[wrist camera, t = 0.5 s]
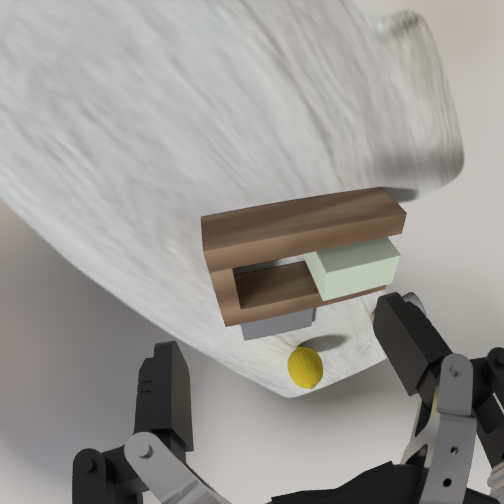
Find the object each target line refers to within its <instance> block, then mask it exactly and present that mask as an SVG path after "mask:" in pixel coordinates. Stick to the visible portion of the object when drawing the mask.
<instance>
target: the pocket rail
mask: <svg viewBox="0 0 504 504" xmlns="http://www.w3.org/2000/svg"><path fill="white" fill-rule="evenodd" d="M406 214H407V213H406V212H405V211H404V210H403V209H402V208H401V207H400V205H399V204H398V203H397V202H396V201H395V200H394V199H393V198H392V197H391V196H390V195H389V194H388V193H387V192H386V191H385V190H384V189H383V188H382V187H377V188H370V189H362V190H355V191H348V192H341V193H335V194H328V195H321V196H315V197H309V198H303V199H296V200H290V201H285V202H279V203H273V204H267V205H262V206H256V207H250V208H245V209H240V210H234V211H229V212H224V213H219V214H214V215H209V216H204V217H201V228H202V242H203V252H204V256H205V259H206V263H207V267H208V270H209V273H210V277H211V280H212V284H213V287H214V291H215V294H216V297H217V301H218V304H219V307H220V310H221V314H222V317H223V320H224V323H225V327H228V326H233V325H238V324H243V323H248V322H253V321H258V320H263V319H268V318H272V317H277V316H282V315H286V314H290V313H295V312H299V311H303V310H308V309H312V308H316V307H320V306H324V305H328V304H332V303H336V302H340V301H344V300H348V299H351V298H355V297H359V296H363V295H366V294H370V293H373V292H377V291H380V290H384V289H385V287H386V285H383V286H379V287H376V288H372V289H368V290H365V291H361V292H357V293H353V294H350V295H346V296H342V297H338V298H334V299H330V300H326V301H323V300H322V298H321V295H320V293H319V291H318V288H317V286H316V284H315V281H314V279H313V277H312V275H311V272H310V270H309V268H308V266H307V263H306V261H302V262H297V263H292V264H287V265H282V266H277V267H272V268H267V269H262V270H257V271H252V272H247V273H242V274H237V275H234V272H233V268H236V267H241V266H247V265H252V264H257V263H262V262H267V261H272V260H277V259H282V258H287V257H292V256H296V255H301V254H306V253H311V252H316V251H321V250H326V249H331V248H335V247H340V246H345V245H350V244H355V243H359V242H364V241H369V240H374V239H378V238H383V237H388V236H392V235H397V234H401V233H402V230H403V226H404V222H405V218H406Z"/></svg>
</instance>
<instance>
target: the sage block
mask: <svg viewBox="0 0 504 504" xmlns="http://www.w3.org/2000/svg"><path fill="white" fill-rule="evenodd" d="M400 256H401V255H400V253H399V252H398V251H397V249H396V248H395V247H394V245H393V244H392V243H391V241H390V240H389V239H388V237H383V238H378V239H374V240H369V241H364V242H359V243H355V244H350V245H345V246H340V247H335V248H331V249H326V250H321V251H316V252H311V253H306V254H303V257H304V259H305V261H306V263H307V266H308V268H309V270H310V272H311V275H312V277H313V279H314V281H315V284H316V286H317V288H318V291H319V293H320V295H321V298H322V300H323V301H326V300H330V299H334V298H338V297H342V296H346V295H350V294H353V293H357V292H361V291H365V290H368V289H372V288H376V287H379V286H383V285H386V284H390V283H392V281H393V278H394V275H395V272H396V269H397V266H398V263H399V260H400Z"/></svg>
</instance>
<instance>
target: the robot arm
mask: <svg viewBox="0 0 504 504" xmlns="http://www.w3.org/2000/svg"><path fill="white" fill-rule="evenodd" d="M373 330H374V333H375V336H376V338H377V339H378V341H379V343H380V345H381V346H382V348H383V350H384V351H385V353H386V355H387V357H388V358H389V360H390V362H391V364H392V366H393V367H394V369H395V371H396V372H397V375H398V376H399V378H400V380H401V382H402V384H403V386H404V387H405V389H406V391H407V393H408V395H409V396H412V395H414V394H416V393H419V395H420V399H419V403H418V408H417V414H416V418H415V422H414V427H413V431H412V435H411V439H410V442H409V444H408V446H407V447H406V449H405V451H404V454H403V457H402V460H401V463H400V464H397V465H393V463H392V461H389V462H387V463H385V464H382V465H380V466H377V467H375V468H372V469H370V470H367V471H365V472H363V473H361V474H360V475H358V476H357V477H355V478H354V479H352V480H351V481H349V482H347V483H345V484H344V485H342V486H340V487H338V488H336V489H327V490H310V491H309V490H308V491H299V492H295V493H290V494H286V495H281V496H276V497H272V498H271V499H272V501H271V502H268V503H266V504H504V414H503V412H502V411H501V409H500V407H499V405H498V403H497V401H496V399H495V398H494V395H493V393H494V392H495V394H496V396H497V398H498V400H499V401H500V403H501V405H502V407H503V409H504V348H500V347H497V348H493V349H492V350H491V351H490V352H489V353H488V355H487V356H486V357H484V358H478V359H471V360H469V359H468V358H467V357H465V356H464V355H461V354H456V353H453V352H452V351H451V350H450V348H449V347H448V345H447V344H446V343H445V341H444V340H443V339H442V337H441V336H440V334H439V333H438V332H437V330H436V329H435V328H434V326H432V324H431V322H430V321H429V320H428V318H426V316H425V314H424V313H423V312H422V310H421V309H420V308H419V307H418V306H416V305H415V304H413V303H412V302H410V301H407V302H405V301H404V300H403V298H402V297H401V296H400V294H399V293H397V292H394V293H390V294H387V295H383V296H380V297H379V298H378V301H377V306H376V311H375V315H374V320H373ZM138 383H139V384H138V389H137V392H138V394H137V401H136V413H135V428H134V433H133V435H132V436H131V437H130V438H129V439H128V440H127V442H126V444H125V445H123V446H121V447H119V448H116V449H113V450H109V451H106V452H103V453H100V452H98V451H97V450H95V449H90V448H88V449H83V450H81V451H80V452H79V453H78V454H77V455H76V456H75V458H74V461H73V477H72V479H73V480H72V504H143V496H142V492H145V491H149V490H151V492H152V493H153V494H154V495H155V496H156V497H157V499H158V500H159V501H160V502H161V504H231V503H230V502H229V501H227V500H226V499H225V498H224V497H222V496H221V495H220V494H219V493H218V492H216V491H215V490H214V489H213V488H212V487H211V486H210V485H209V484H207V482H205V481H204V480H203V479H202V478H201V477H200V476H199V475H198V474H197V473H196V472H195V471H194V470H193V469H192V468H191V467H190V466H189V465H188V464H187V463H186V454H185V452H188V451H194V447H193V433H192V417H191V396H190V375H189V369H188V366H187V363H186V361H185V359H184V357H183V355H182V353H181V351H180V349H179V347H178V345H177V343H176V341H168V342H162V343H156V344H155V348H154V357H153V358H146V359H145V360H144V362H143V364H142V366H141V368H140V370H139V379H138ZM476 432H477V435H478V437H479V439H480V441H481V443H482V446H483V448H484V450H485V453H486V455H487V458H488V460H489V463H490V465H491V468H492V472H491V474H490V477H489V478H488V481H487V484H488V486H489V487H491V492H490V495H486V494H483V493H480V492H477V491H475V490H472V489H469V488H467V482H468V478H469V473H470V468H471V463H472V457H473V451H474V444H475V436H476Z"/></svg>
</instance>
